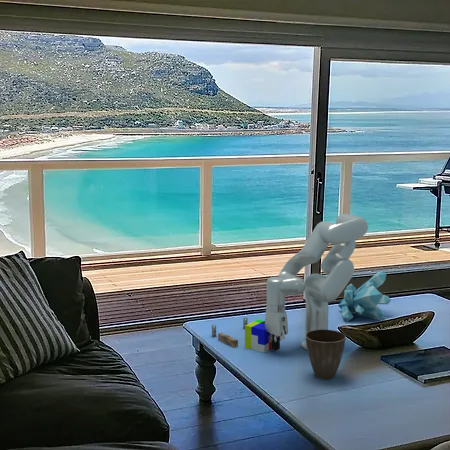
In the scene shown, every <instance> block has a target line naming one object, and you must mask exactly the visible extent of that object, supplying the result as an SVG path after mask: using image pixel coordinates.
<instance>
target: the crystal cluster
mask: <svg viewBox="0 0 450 450" xmlns="http://www.w3.org/2000/svg"><path fill="white" fill-rule="evenodd" d="M386 279H387V272H384V271H378V272H376V273H375V274H374V275H373V276H372V277H371V278H370V279H368V280H367V281H365V282H364V283H363V284H362V285H361V286H359V288H356V287H355V286H354V285H353V284H352V283H350V284H349V285H346V286H345V289H344V291H343V292H344V297H343V298H342V299H341V301H340V302H339V304H338V307H339V308H340V309H341V313H342V317H343V318H344V319H345V321H346V322H349V321H350V320H351V319H353V318H354V315H353V314H358V315H360V316H363V317H367V318H370V319H374V320H376V319H377V320H376V321H380V320H381V318H383V317H384V316H385V313H384V312H383V310H382V309H381V308H380V307H379V305H389V304H390V303H391V300H392V299H391V298H390V297H389V296H388V295H385V294H383V293H382V292H380V290H378V288H379V287H380V286H382V285H383V284H384V282H386Z"/></svg>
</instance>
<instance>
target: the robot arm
mask: <svg viewBox="0 0 450 450" xmlns="http://www.w3.org/2000/svg"><path fill="white" fill-rule="evenodd" d="M368 230H369V224H368V221H367V220H366V219H365V218H363V217H361V216H357V215H354V214H350V213H341V214H339V215H338V216H337V217H336V219H335V223H334V222H330V221H320V222H319V223H317V224H316V226H315V227H314V229H313V231H312V232H311V234H310V236H309V237H308V239H306V242H305V243H304V245H303V247H302V248H301V249H300V251H298V252H297V253H295V254H294V255H293V256H292V257H291V258H289V259H288V260H287V262H286V263H285V264H284V266H283V267H282V269H281V270H280V272H279V274H278V276H271V277H269V278H268V279H267V280H266V309H265V316H264V317H265V318H264V321H265V329H266V331H267V332H268V334H269V335H270V339H271V340H272V348H271V350H272V351H274V352H276V351H280V350H281V341H282V340H285V339H286V335H288V333H289V323H288V315H287V311H286V296H298V295H301V294H302V293H304V299H305V332H304V334H305V337H304V338H305V340H303V341H302V342H301V347H302V348H303V349H304V350H306V351H308V349H307V343H306V333H308V332H310V331H313V330H329V303H331V302H334V301H335V300H337V298H338V297H339V296H340V295H341V293H342V292H344V290H345V289H346V287H347V286H348V283H349V282H350V281H351V279H352V278H353V275H354V272H355V266H354V265H355V264H354V263H353V262H352V260H351V259H350V258H351V256H352V255H353V253H354V251H355V249H356V243H357V242H356V239H357V240H358V239H361V238H363V237H364V236H365V235H366V234H367V232H368ZM329 245H332V247H331V248H330V249H329V251H328V252H327V254H325V256H324V253H325V251H326V250H327V248H328V247H329ZM322 256H324V257H323V260H322V261H321V263H320V269H321V272H323V273H324V274H326V275H327V276H324V275H322V274H320V273H311V274H309V275H308V276H307V277H306V278H305V280H304V279H302V278H301V277H299V276H297V275H298V274H299V272H300V271H301V270H303V268H304V267H306V266H309V265H312V264H315V263H318V262H319V261H320V259H322Z"/></svg>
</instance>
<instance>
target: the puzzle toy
mask: <svg viewBox="0 0 450 450" xmlns="http://www.w3.org/2000/svg"><path fill="white" fill-rule="evenodd" d="M244 348H245V349H248V350H252V351H255V352H256V351H257V352H260V353H267V352H269V351H271V350H272V349H271V348H272V340H271V339H270V335H269V334H268V332H267V331H266V329H265V320H262V319H256V320H253V321H252V322H249V323H248V324H247V325H245V329H244Z"/></svg>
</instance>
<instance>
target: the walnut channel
mask: <svg viewBox="0 0 450 450" xmlns="http://www.w3.org/2000/svg"><path fill="white" fill-rule="evenodd" d="M217 335H218V336H217V340H218V341H220V342H221V343H222V344H225V345H228V346H230V347H232V348H238V347H239V339H238V338H235V337H232V336H231V335H228V334H227V333H224V332H217Z"/></svg>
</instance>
